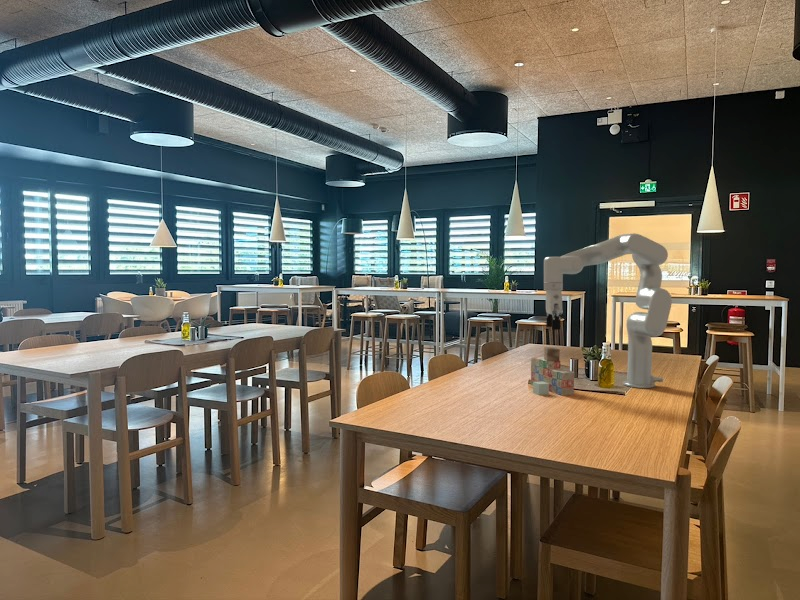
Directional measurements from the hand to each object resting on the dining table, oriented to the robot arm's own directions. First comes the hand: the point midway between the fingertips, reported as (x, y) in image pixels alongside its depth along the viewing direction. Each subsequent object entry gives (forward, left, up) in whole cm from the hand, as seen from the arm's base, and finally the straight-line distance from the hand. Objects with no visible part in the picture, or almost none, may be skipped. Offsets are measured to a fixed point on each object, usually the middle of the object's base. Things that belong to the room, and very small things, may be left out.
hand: (553, 328), depth 233 cm
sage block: (+7, +9, -26) cm, 28 cm away
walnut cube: (0, 0, -13) cm, 13 cm away
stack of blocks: (0, +1, -26) cm, 26 cm away
